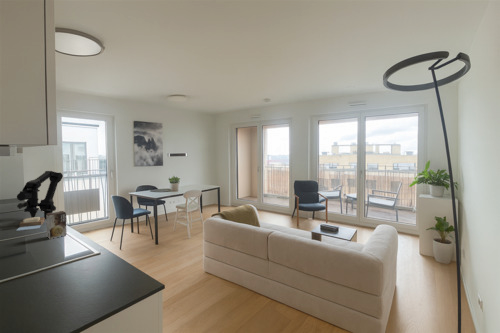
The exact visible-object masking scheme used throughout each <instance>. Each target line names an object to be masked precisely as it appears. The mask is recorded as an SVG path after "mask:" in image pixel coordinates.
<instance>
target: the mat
mask: <svg viewBox="0 0 500 333" xmlns="http://www.w3.org/2000/svg"><path fill="white" fill-rule="evenodd" d="M41 227H42V225H36V226H27V227H18V228H17V229H16V232H20V231H27V230H29V231H30V230H38V229H40V228H41Z"/></svg>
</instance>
